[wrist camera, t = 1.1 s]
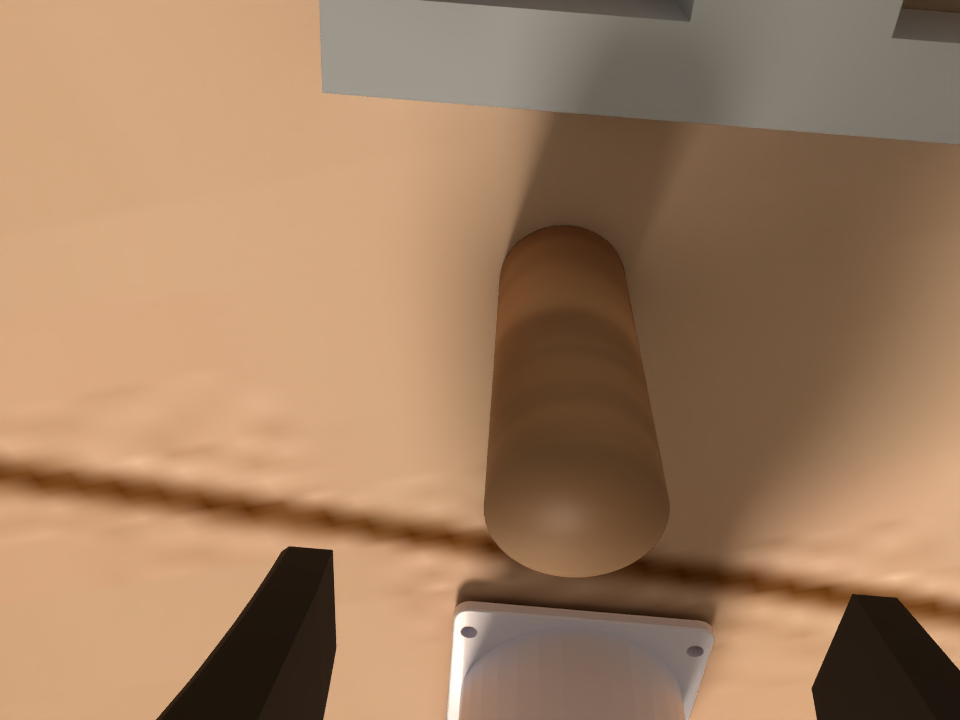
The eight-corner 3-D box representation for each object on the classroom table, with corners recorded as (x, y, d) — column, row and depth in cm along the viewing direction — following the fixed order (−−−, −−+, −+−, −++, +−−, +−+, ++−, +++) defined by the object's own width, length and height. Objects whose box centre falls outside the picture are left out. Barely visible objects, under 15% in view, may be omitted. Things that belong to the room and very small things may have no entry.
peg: (615, 341, 22) (652, 584, 15) (495, 331, 22) (478, 570, 15) (634, 231, 20) (685, 448, 13) (504, 220, 20) (491, 431, 13)
